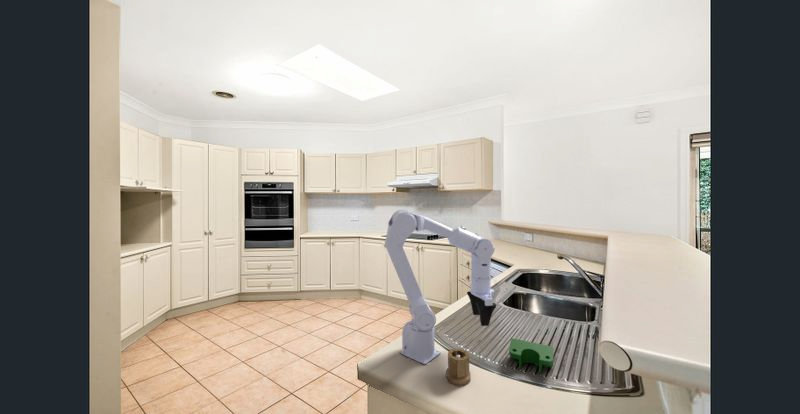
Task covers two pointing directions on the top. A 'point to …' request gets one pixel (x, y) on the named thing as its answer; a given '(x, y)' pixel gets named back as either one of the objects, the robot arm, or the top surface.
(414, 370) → the top surface
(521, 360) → the clamp
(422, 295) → the robot arm
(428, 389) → the top surface
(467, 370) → the bronze collar
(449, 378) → the walnut stand
